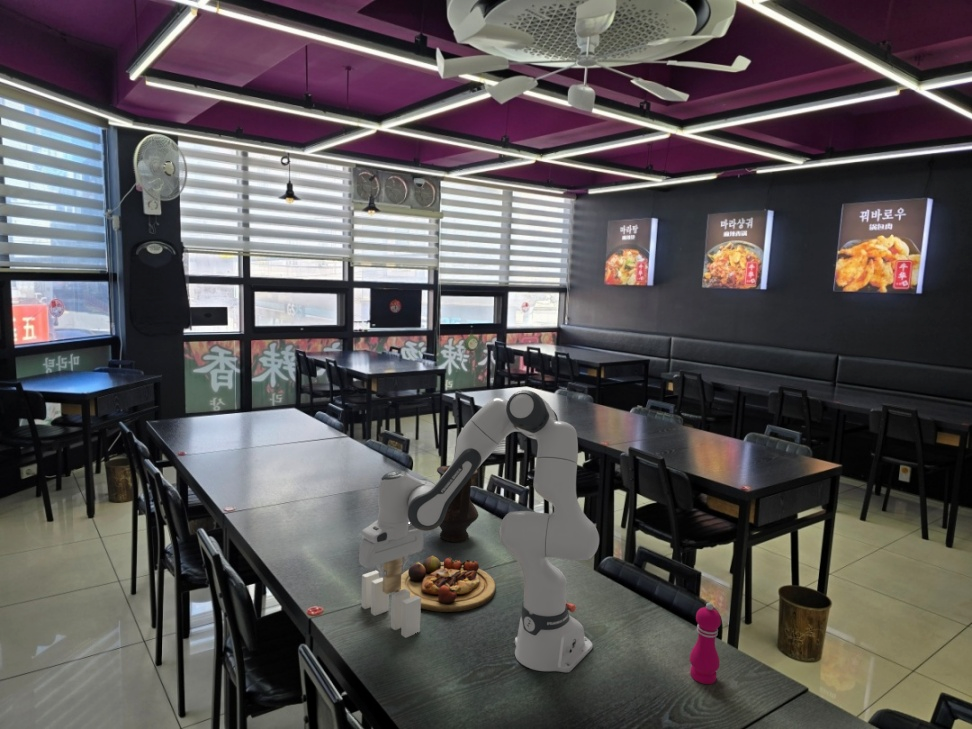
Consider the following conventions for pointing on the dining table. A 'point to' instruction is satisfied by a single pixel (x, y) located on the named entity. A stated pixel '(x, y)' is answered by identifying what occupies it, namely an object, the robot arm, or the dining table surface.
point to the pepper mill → (705, 646)
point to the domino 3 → (392, 576)
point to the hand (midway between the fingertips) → (391, 573)
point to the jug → (458, 513)
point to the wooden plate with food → (448, 584)
